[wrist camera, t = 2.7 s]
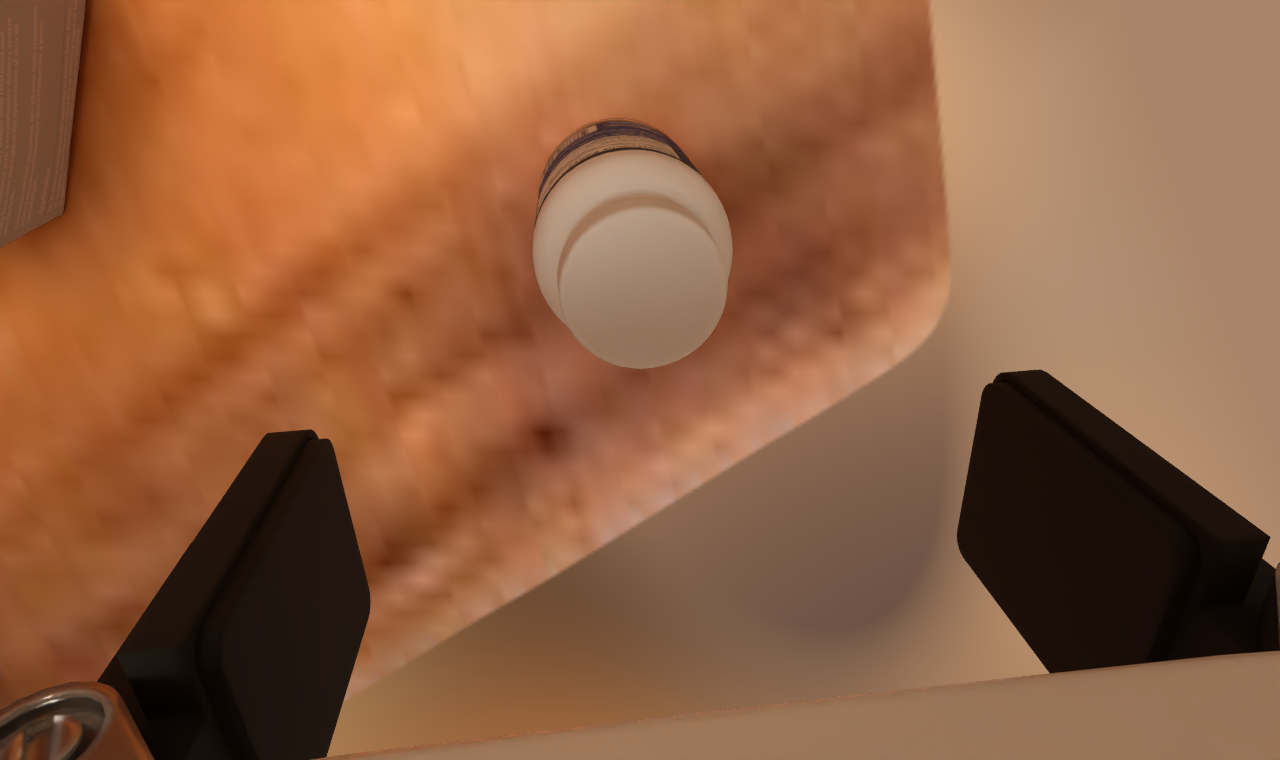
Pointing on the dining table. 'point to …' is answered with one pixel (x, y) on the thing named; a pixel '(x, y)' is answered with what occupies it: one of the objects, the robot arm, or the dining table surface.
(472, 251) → the dining table surface
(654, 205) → the pill bottle
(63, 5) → the cosmetic box
